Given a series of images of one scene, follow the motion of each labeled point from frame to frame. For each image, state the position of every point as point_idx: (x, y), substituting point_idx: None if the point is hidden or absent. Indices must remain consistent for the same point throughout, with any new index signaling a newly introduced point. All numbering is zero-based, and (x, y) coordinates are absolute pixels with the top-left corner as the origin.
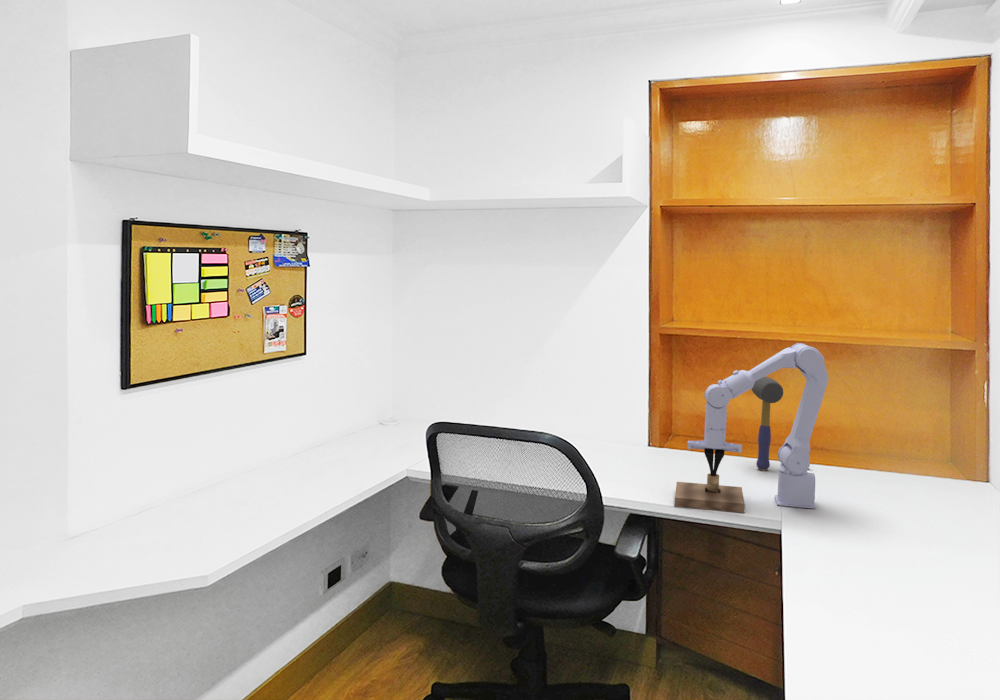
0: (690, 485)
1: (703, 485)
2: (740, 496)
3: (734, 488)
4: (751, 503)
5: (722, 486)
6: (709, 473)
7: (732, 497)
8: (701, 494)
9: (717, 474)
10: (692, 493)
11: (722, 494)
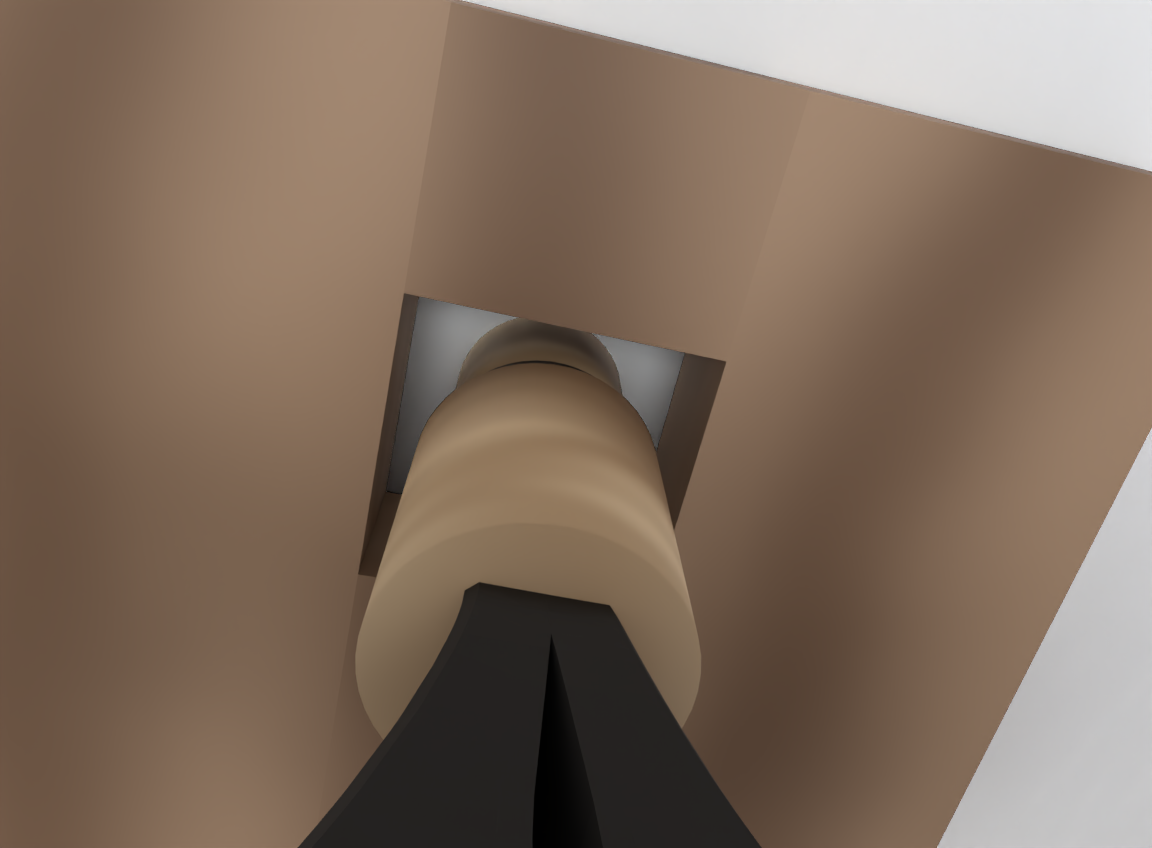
0: (74, 158)
1: (393, 141)
2: (939, 750)
3: (1047, 320)
4: (1108, 555)
5: (834, 188)
6: (442, 537)
7: (780, 802)
8: (272, 709)
9: (669, 623)
10: (109, 674)
11: None
